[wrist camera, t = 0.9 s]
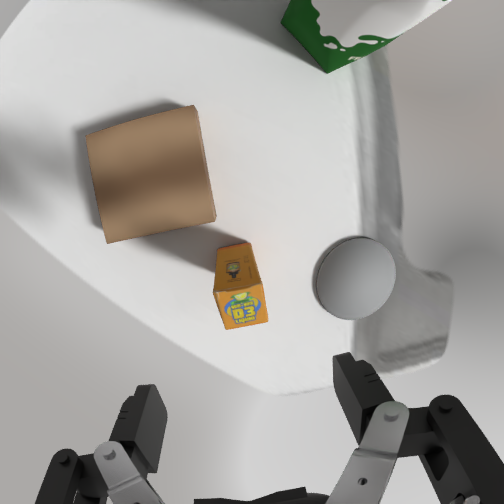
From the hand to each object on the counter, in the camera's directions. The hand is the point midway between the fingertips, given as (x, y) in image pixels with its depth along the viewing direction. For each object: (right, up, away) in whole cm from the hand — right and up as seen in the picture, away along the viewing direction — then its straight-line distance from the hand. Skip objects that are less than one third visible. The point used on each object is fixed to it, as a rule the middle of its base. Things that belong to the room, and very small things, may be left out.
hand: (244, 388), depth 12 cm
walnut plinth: (-9, +13, +14) cm, 21 cm away
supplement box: (-1, +5, +17) cm, 18 cm away
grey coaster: (+11, +3, +18) cm, 22 cm away
